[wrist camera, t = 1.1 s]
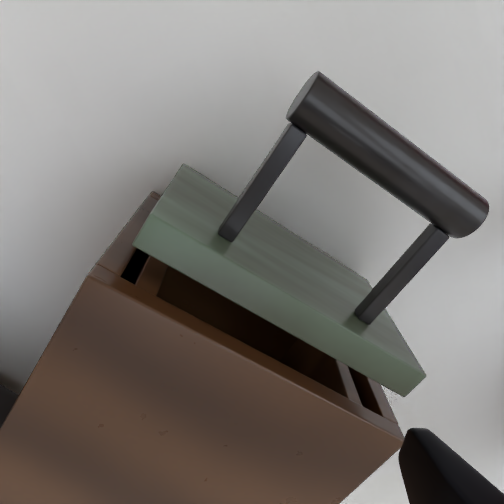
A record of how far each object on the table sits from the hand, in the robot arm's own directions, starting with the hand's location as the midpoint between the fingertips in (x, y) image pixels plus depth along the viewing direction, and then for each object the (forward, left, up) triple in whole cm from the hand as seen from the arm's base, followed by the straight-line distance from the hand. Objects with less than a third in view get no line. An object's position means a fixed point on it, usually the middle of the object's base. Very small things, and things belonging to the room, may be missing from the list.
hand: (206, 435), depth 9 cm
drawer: (-2, +2, -12) cm, 12 cm away
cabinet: (-2, +8, -13) cm, 15 cm away
